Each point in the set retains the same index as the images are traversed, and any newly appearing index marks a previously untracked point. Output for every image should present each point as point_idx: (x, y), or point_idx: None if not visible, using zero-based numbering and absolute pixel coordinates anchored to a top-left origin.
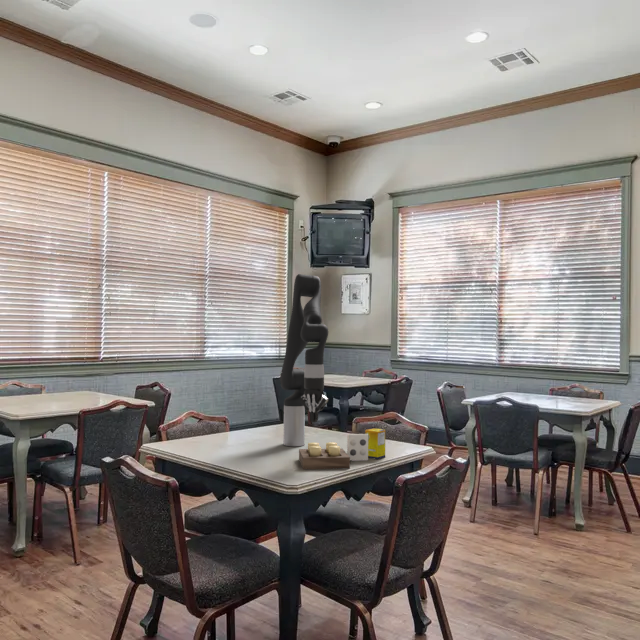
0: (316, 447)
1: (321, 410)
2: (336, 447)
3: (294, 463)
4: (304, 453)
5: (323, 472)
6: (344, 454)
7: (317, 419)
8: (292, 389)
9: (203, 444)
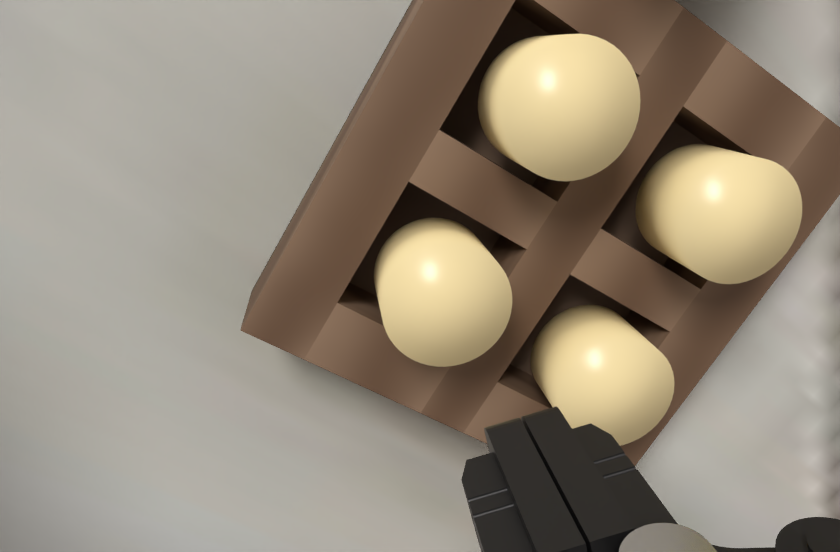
0: (644, 402)
1: (819, 533)
2: (787, 231)
3: (368, 400)
4: (463, 400)
5: (738, 380)
6: (751, 102)
7: (613, 450)
8: None
9: None
